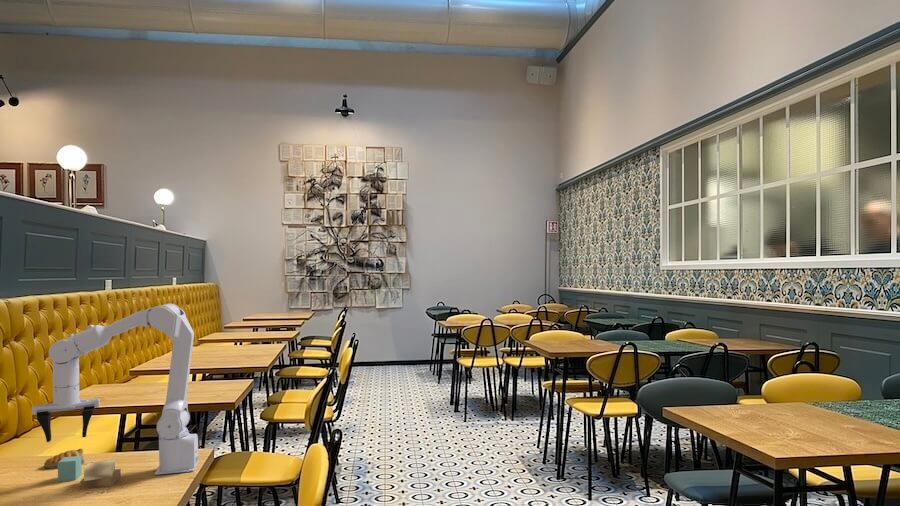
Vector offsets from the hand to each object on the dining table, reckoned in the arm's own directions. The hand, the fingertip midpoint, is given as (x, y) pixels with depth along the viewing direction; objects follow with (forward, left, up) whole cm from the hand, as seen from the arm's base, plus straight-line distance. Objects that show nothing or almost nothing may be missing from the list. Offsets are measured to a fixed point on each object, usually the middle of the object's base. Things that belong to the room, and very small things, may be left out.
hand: (66, 438), depth 149 cm
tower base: (-10, +6, -11) cm, 16 cm away
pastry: (+4, -13, -11) cm, 18 cm away
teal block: (-1, 0, -10) cm, 10 cm away
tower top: (-9, +6, -8) cm, 14 cm away
